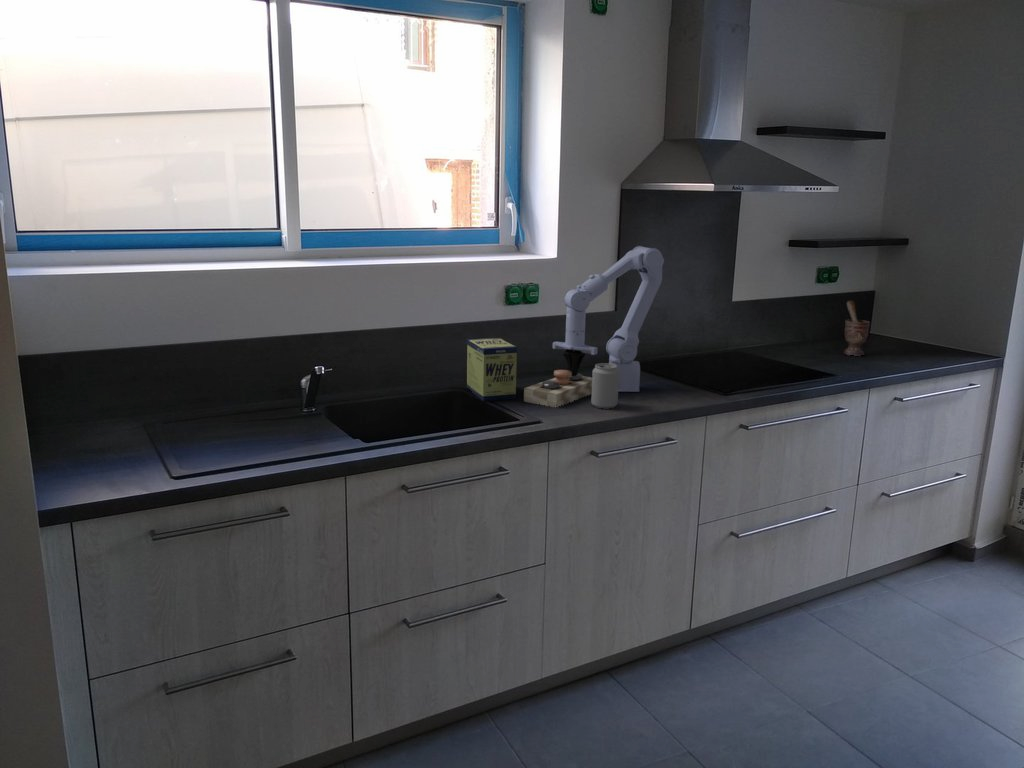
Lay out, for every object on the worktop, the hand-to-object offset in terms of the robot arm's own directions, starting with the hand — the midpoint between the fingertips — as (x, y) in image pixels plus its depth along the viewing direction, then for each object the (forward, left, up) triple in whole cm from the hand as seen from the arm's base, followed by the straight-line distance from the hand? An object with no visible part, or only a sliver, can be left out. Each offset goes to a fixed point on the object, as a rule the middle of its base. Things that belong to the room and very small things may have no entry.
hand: (573, 374), depth 249 cm
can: (-7, +16, -6) cm, 18 cm away
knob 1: (+8, +10, -5) cm, 14 cm away
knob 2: (0, 0, -4) cm, 4 cm away
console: (+4, +5, -5) cm, 8 cm away
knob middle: (+4, +5, -2) cm, 7 cm away
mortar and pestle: (-115, -60, -6) cm, 130 cm away
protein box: (+25, +2, -6) cm, 26 cm away
